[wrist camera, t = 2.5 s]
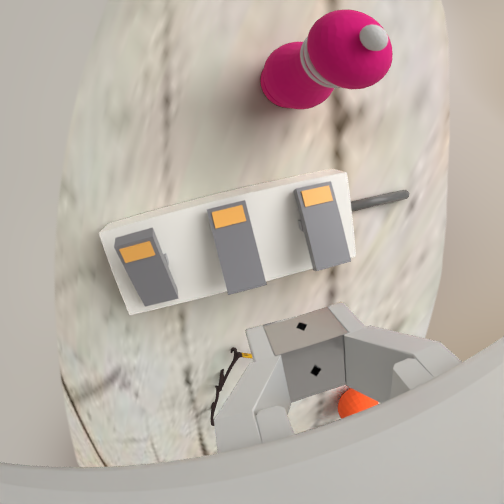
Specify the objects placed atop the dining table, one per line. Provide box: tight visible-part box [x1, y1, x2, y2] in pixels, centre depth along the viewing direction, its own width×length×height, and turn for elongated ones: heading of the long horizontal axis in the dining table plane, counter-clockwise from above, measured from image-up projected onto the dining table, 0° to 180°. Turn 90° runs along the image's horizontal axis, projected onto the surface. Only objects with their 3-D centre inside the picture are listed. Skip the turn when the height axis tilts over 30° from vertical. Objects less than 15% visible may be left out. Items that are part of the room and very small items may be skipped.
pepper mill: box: [260, 10, 392, 109], centre depth 24 cm, size 7×7×20 cm
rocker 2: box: [207, 200, 267, 295], centre depth 32 cm, size 8×4×2 cm, turn 11°
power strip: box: [99, 169, 409, 315], centre depth 36 cm, size 10×38×5 cm, turn 102°
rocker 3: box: [293, 181, 351, 271], centre depth 33 cm, size 8×4×2 cm, turn 11°
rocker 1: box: [114, 227, 179, 307], centre depth 31 cm, size 8×4×2 cm, turn 13°
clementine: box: [338, 388, 378, 419], centre depth 48 cm, size 8×7×7 cm
